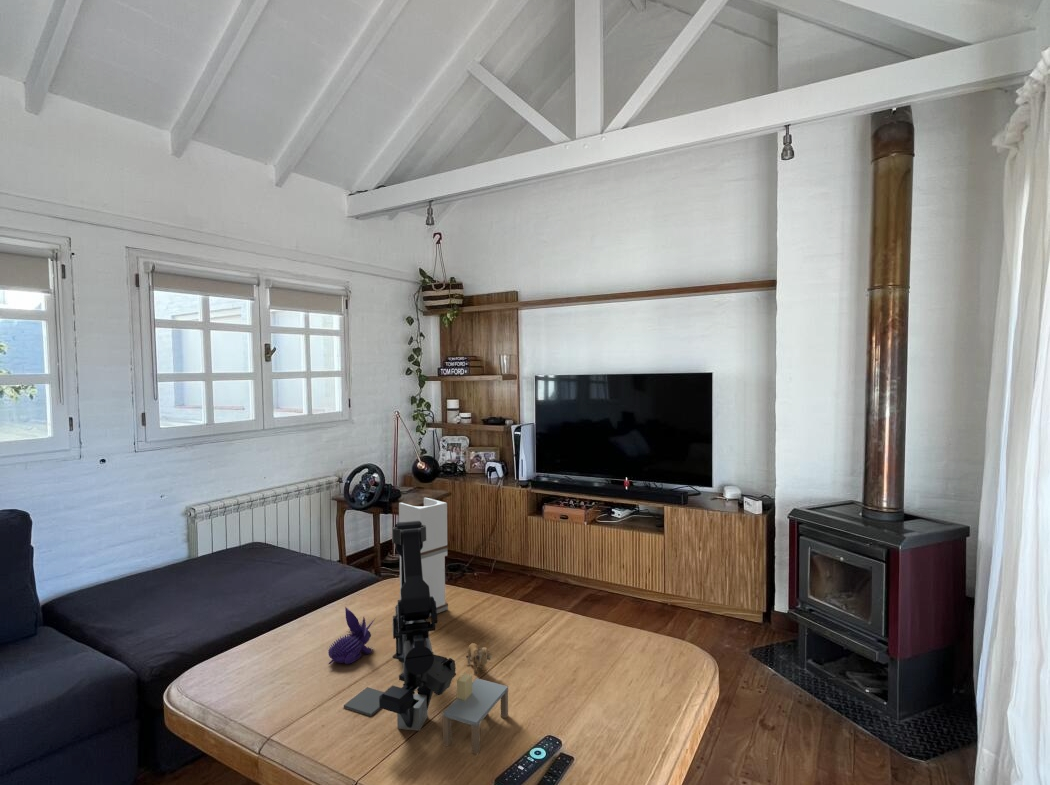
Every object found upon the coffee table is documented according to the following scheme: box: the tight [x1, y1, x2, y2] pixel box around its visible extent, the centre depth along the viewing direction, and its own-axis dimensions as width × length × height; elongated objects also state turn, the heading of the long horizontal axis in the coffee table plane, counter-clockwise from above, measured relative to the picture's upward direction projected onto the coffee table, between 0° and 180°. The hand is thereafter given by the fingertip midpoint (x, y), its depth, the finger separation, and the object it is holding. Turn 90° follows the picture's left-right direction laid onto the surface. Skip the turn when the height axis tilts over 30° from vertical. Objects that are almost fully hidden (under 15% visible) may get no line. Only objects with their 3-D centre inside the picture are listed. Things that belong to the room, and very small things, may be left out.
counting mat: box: [343, 686, 385, 717], centre depth 129 cm, size 8×8×1 cm
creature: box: [327, 606, 376, 665], centre depth 151 cm, size 9×18×12 cm, turn 151°
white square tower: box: [398, 497, 449, 617], centre depth 179 cm, size 11×11×35 cm
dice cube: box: [396, 693, 428, 731], centre depth 122 cm, size 5×5×5 cm
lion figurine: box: [466, 642, 493, 676], centre depth 144 cm, size 12×4×7 cm, turn 32°
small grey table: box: [442, 672, 509, 756], centre depth 119 cm, size 8×14×11 cm, turn 155°
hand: (417, 719), depth 121 cm, fingers closed on dice cube, 5 cm apart
